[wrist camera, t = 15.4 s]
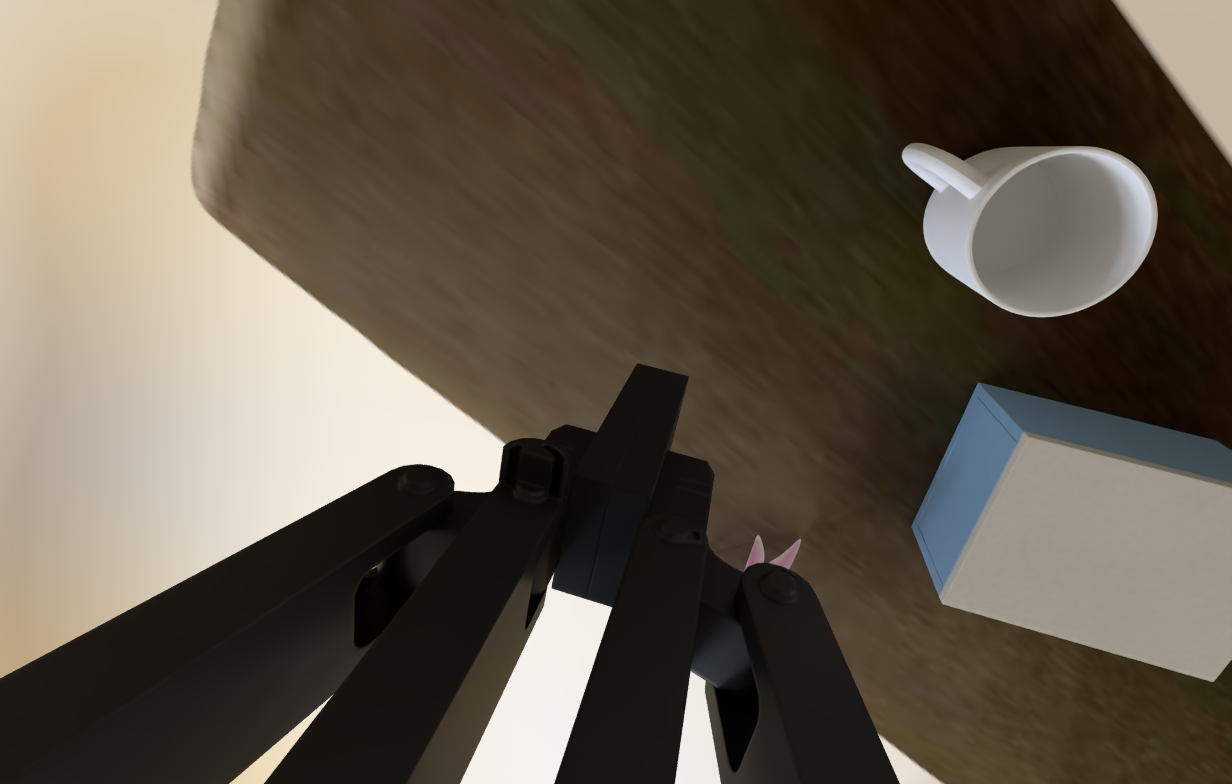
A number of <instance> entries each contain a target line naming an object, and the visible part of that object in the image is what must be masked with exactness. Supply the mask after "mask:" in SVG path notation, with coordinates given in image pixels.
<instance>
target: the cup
mask: <svg viewBox="0 0 1232 784" xmlns="http://www.w3.org/2000/svg"><path fill="white" fill-rule="evenodd" d="M902 159H903V161H904V163H905V164H906V165H907V166H908V167H909V168H910V169H911V170H912V171H913V172H914V173H916V174H917V175H918V176H919V177H921V178H922V179H923V180H924V181H926V182H927V183H928V184H930V185H931V186H932V187H934V188H935V190H934V191H933V193H932V195H931V197H930V199H929V201H928V204H927V207H926V210H925V215H924V223H923V231H924V237H925V241H926V244H927V247H928V249H929V251H930V253H931V255H932V257H933V258H934V260H935V261H936V262H937V263H938V264H939V265H940V266H941V267H942V268H943V269H944V270H945V271H947V272H948V273H949V274H951V275H952V276H954V277H955V278H957V279H958V280H960V281H961V282H963V283H964V284H966V285H967V286H969V287H970V288H972V289H973V290H975V291H976V292H978V293H979V294H981V295H982V296H984V297H985V298H987V299H988V300H990V301H991V302H993V303H994V304H996V305H998V306H999V307H1001V308H1003V309H1005V310H1008V311H1010V312H1013V313H1016V314H1020V315H1025V316H1032V317H1052V316H1060V315H1065V314H1070V313H1073V312H1077V311H1080V310H1082V309H1085V308H1087V307H1090V306H1092V305H1094V304H1096V303H1098V302H1100V301H1101V300H1103V299H1105V298H1106V297H1108V296H1109V295H1111V294H1112V293H1114V292H1115V291H1116V290H1117V289H1119V288H1120V287H1121V286H1122V285H1123V284H1124V283H1126V282H1127V281H1128V279H1129V278H1130V277H1131V276H1132V275H1133V274H1134V273H1135V272H1136V270H1137V269H1138V268H1139V266H1140V265H1141V263H1142V262H1143V260H1144V259H1145V257H1146V255H1147V253H1148V252H1149V249H1150V247H1151V245H1152V242H1153V239H1154V236H1155V231H1156V227H1157V203H1156V198H1155V194H1154V191H1153V189H1152V186H1151V184H1150V183H1149V181H1148V179H1147V177H1146V176H1145V175H1144V174H1143V172H1142V171H1141V170H1140V169H1139V168H1138V167H1137V166H1136V165H1135V164H1134V163H1132V162H1131V161H1130V160H1128V159H1127V158H1125V157H1123V156H1121V155H1119V154H1117V153H1115V152H1112V151H1109V150H1106V149H1102V148H1097V147H1088V146H1055V147H1004V148H997V149H992V150H988V151H984V152H982V153H979V154H976V155H974V156H972V157H970V158H968V159H966V160H965V161H963V160H961V159H959V158H958V157H956V156H954V155H952V154H950V153H948V152H946V151H944V150H941V149H939V148H936V147H933V146H930V145H927V144H922V143H912V144H910V145H908V146H907V147H905V148H904V150H903V152H902Z"/></svg>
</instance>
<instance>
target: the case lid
mask: <svg viewBox="0 0 1232 784" xmlns="http://www.w3.org/2000/svg"><path fill="white" fill-rule="evenodd" d="M939 597H940V600H941V602H942V604H945V605H948V606H952V607H955V608H958V609H962V610H965V611H969V612H972V613H976V614H979V615H983V616H986V617H990V618H993V619H997V620H1000V621H1003V622H1007V623H1010V624H1014V625H1017V626H1021V627H1024V628H1028V629H1031V630H1035V631H1038V632H1042V633H1045V634H1049V635H1052V636H1055V637H1059V638H1062V639H1066V640H1069V641H1073V642H1076V643H1080V644H1083V645H1087V646H1090V647H1094V648H1097V649H1100V650H1104V651H1107V652H1111V653H1114V654H1118V655H1121V656H1125V657H1128V658H1132V659H1135V660H1139V661H1142V662H1146V663H1149V664H1152V665H1156V666H1159V667H1163V668H1166V669H1170V670H1173V671H1177V672H1180V673H1184V674H1187V675H1191V676H1194V677H1197V678H1201V679H1204V680H1208V681H1211V682H1214V681H1215V679H1216V678H1217V677H1218V676H1219V674H1220V673H1221V672H1222V671H1223V669H1224V668H1225V667H1226V666H1227V664H1228V663H1229V662H1230V661H1231V660H1232V483H1228V482H1224V481H1220V480H1216V479H1212V478H1208V477H1204V476H1200V475H1196V474H1192V473H1188V472H1184V471H1180V470H1176V469H1172V468H1168V467H1164V466H1160V465H1156V464H1152V463H1148V462H1144V461H1140V460H1136V459H1132V458H1128V457H1124V456H1120V455H1116V454H1112V453H1108V452H1104V451H1100V450H1096V449H1092V448H1088V447H1084V446H1080V445H1076V444H1072V443H1068V442H1064V441H1060V440H1056V439H1052V438H1048V437H1044V436H1040V435H1036V434H1032V433H1028V432H1023V434H1022V436H1021V438H1020V440H1019V442H1018V444H1017V445H1016V447H1015V449H1014V451H1013V453H1012V455H1011V457H1010V459H1009V461H1008V463H1007V465H1006V467H1005V469H1004V471H1003V473H1002V475H1001V477H1000V479H999V480H998V482H997V484H996V486H995V488H994V490H993V492H992V494H991V496H990V498H989V500H988V502H987V504H986V506H985V508H984V510H983V512H982V514H981V515H980V517H979V519H978V521H977V523H976V525H975V527H974V529H973V531H972V533H971V535H970V537H969V539H968V541H967V543H966V545H965V547H964V549H963V550H962V552H961V554H960V556H959V558H958V560H957V562H956V564H955V566H954V568H953V570H952V572H951V574H950V576H949V578H948V580H947V582H946V584H945V585H944V587H943V589H942V591H941V593H940V595H939Z"/></svg>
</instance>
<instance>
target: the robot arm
mask: <svg viewBox="0 0 1232 784" xmlns="http://www.w3.org/2000/svg"><path fill="white" fill-rule="evenodd" d="M688 378H689V376H685V375H681V374H677V373H673V372H669V371H666V370H662V369H658V368H654V367H650V366H646V365H642V364H638V363H637V365H636V366H635V368H634V370H633V371H632V373H631V375H630V377H629V378H628V380H627V382H626V384H625V385H624V387H623V389H622V390H621V392H620V394H619V396H618V397H617V399H616V401H615V403H614V404H613V406H612V408H611V409H610V411H609V413H608V415H607V416H606V418H605V420H604V422H603V423H602V425H601V427H600V428H599V430H598V432H597V433H596V432H593V431H589V430H585V429H582V428H578V427H575V426H571V425H567V424H566V425H564V426H562V427H559V428H557V429H555V430H553V431H551V433H550V434H549V435H548V437H547V438H546V439H545V440H542V439H536V438H521V439H518V440H514V441H510V442H509V443H508V444H506V445H505V446H504V447H503V454H502V461H501V469H500V477H499V483H498V484H497V486H496V487H495V488H494V490H493V491H492V492H485V493H483V492H464V491H454V481H453V479H452V477H451V475H450V474H448V473H447V472H445V471H444V470H442V469H440V468H436V467H433V466H430V465H422V464H415V465H407V466H402V467H399V468H396V469H393V470H391V471H389V472H387V473H385V474H383V475H381V476H379V477H378V478H376V479H374V480H372V481H370V482H368V483H366V484H364V485H363V486H361V487H359V488H357V489H355V490H353V491H351V492H349V493H348V494H346V495H344V496H342V497H340V498H338V499H336V500H334V501H333V502H331V503H329V504H327V505H325V506H323V507H321V508H319V509H318V510H316V511H314V512H312V513H310V514H308V515H307V516H304V517H303V518H301V519H299V520H297V521H295V522H293V523H291V524H290V525H288V526H286V527H284V528H282V529H280V530H278V531H276V532H274V533H273V534H271V535H269V536H267V537H265V538H263V539H261V540H259V541H257V542H256V543H254V544H252V545H250V546H248V547H246V548H244V549H242V550H241V551H239V552H237V553H235V554H233V555H231V556H229V557H228V558H226V559H224V560H222V561H220V562H218V563H216V564H214V565H212V566H211V567H209V568H207V569H205V570H203V571H201V572H199V573H197V574H196V575H194V576H192V577H190V578H188V579H186V580H184V581H183V582H181V583H179V584H177V585H175V586H173V587H171V588H170V589H168V590H165V591H164V592H162V593H160V594H158V595H157V596H154V597H152V598H150V599H149V600H147V601H145V602H143V603H141V604H139V605H137V606H136V607H134V608H132V609H130V610H128V611H126V612H124V613H122V614H120V615H119V616H117V617H115V618H113V619H111V620H109V621H107V622H105V623H104V624H102V625H100V626H98V627H96V628H94V629H92V630H91V631H89V632H87V633H85V634H83V635H81V636H79V637H77V638H75V639H74V640H72V641H70V642H68V643H66V644H64V645H62V646H60V647H58V648H57V649H55V650H53V651H51V652H49V653H47V654H45V655H44V656H42V657H40V658H38V659H36V660H34V661H32V662H30V663H28V664H27V665H25V666H23V667H21V668H19V669H17V670H15V671H13V672H12V673H10V674H8V675H6V676H4V677H2V678H0V784H229V783H230V782H232V781H233V780H234V779H235V778H236V777H237V776H238V775H240V774H241V773H242V772H243V771H244V770H245V769H247V768H248V767H249V766H250V765H251V764H253V763H254V762H255V761H256V760H257V759H258V758H260V757H261V756H262V755H263V754H264V753H265V752H267V751H268V750H269V749H270V748H271V747H272V746H273V745H275V744H276V743H277V742H278V741H279V740H281V739H282V738H283V737H284V736H285V735H286V734H288V733H289V732H290V731H291V730H292V729H293V728H295V727H296V726H297V725H298V724H299V723H300V722H302V721H303V720H304V719H305V718H306V717H307V716H309V715H310V714H311V713H312V712H313V711H314V710H315V709H317V708H318V707H319V706H320V705H321V704H323V703H324V702H325V701H326V700H327V699H328V698H330V697H331V696H332V695H333V694H334V695H333V696H332V697H331V698H330V700H329V701H328V702H327V703H326V705H325V706H324V707H323V709H322V710H321V711H320V712H319V714H318V715H317V716H316V718H315V719H314V720H313V721H312V723H311V724H310V725H309V727H308V728H307V729H306V730H305V732H304V733H303V734H302V736H301V737H300V738H299V739H298V741H297V742H296V743H295V745H294V746H293V747H292V748H291V750H290V751H289V752H288V753H287V755H286V756H285V757H284V759H283V760H282V761H281V763H280V764H279V765H278V766H277V768H276V769H275V770H274V771H273V773H272V774H271V775H270V777H269V778H268V779H267V780H266V782H265V783H264V784H460V782H461V780H462V778H463V776H464V774H465V772H466V770H467V767H468V765H469V763H470V761H471V759H472V757H473V755H474V752H475V751H476V748H477V746H478V744H479V742H480V740H481V738H482V735H483V733H484V731H485V729H486V727H487V725H488V723H489V721H490V719H491V716H492V714H493V712H494V710H495V708H496V706H497V704H498V702H499V700H500V698H501V695H502V693H503V691H504V689H505V687H506V685H507V683H508V681H509V678H510V676H511V674H512V672H513V670H514V668H515V666H516V664H517V661H518V659H519V657H520V655H521V653H522V651H523V649H524V647H525V644H526V642H527V640H528V638H529V636H530V634H531V632H532V630H533V628H534V625H535V623H536V621H537V619H538V617H539V615H540V613H541V611H542V608H543V606H544V602H545V596H546V591H547V586H548V583H549V582H550V580H551V578H552V576H553V574H554V577H553V582H552V589H555V590H559V591H562V592H565V593H568V594H572V595H575V596H578V597H581V598H584V599H587V600H591V601H594V602H597V603H600V604H604V605H607V606H610V607H612V610H611V613H610V616H609V619H608V622H607V625H606V628H605V631H604V634H603V637H602V640H601V643H600V646H599V649H598V653H597V656H596V659H595V662H594V665H593V668H592V671H591V674H590V677H589V680H588V683H587V686H586V689H585V692H584V695H583V698H582V701H581V704H580V708H579V710H578V714H577V717H576V719H575V722H574V725H573V728H572V731H571V734H570V738H569V741H568V744H567V747H566V750H565V753H564V756H563V759H562V762H561V765H560V768H559V771H558V774H557V777H556V780H555V783H554V784H675V778H676V770H677V764H678V757H679V756H678V755H679V749H680V742H681V735H682V727H683V721H684V714H685V706H686V699H687V692H688V685H689V677H690V671H692V672H693V673H695V674H696V675H698V676H699V677H701V678H703V679H704V680H706V683H705V684H706V685H705V694H706V699H707V704H708V711H709V717H710V722H711V728H712V734H713V739H714V745H715V751H716V757H717V763H718V768H719V774H720V780H721V784H900V783H899V781H898V779H897V776H896V774H895V772H894V770H893V767H892V765H891V763H890V761H889V758H888V756H887V754H886V752H885V749H884V747H883V745H882V743H881V740H880V738H879V736H878V733H877V731H876V729H875V727H874V724H873V722H872V720H871V718H870V715H869V713H868V711H867V709H866V706H865V704H864V702H863V700H862V697H861V695H860V693H859V691H858V688H857V686H856V684H855V681H854V679H853V677H852V675H851V672H850V670H849V668H848V666H847V663H846V661H845V659H844V657H843V654H842V652H841V650H840V648H839V645H838V643H837V641H836V639H835V636H834V634H833V632H832V629H831V627H830V625H829V623H828V620H827V618H826V616H825V614H824V611H823V609H822V607H821V605H820V602H819V600H818V598H817V596H816V593H815V592H814V590H813V589H812V588H811V586H810V585H809V583H808V582H807V581H805V580H804V579H803V578H802V577H801V576H799V575H798V574H797V573H795V572H793V571H791V570H789V569H787V568H785V567H782V566H779V565H775V564H771V563H756V564H753V565H751V566H748V567H747V568H746V569H745V571H744V572H741V571H739V570H737V569H735V568H733V567H732V566H730V565H728V564H727V563H725V562H724V561H722V560H721V559H720V558H719V557H718V556H716V555H715V554H714V552H713V551H712V550H711V548H710V547H709V545H708V539H707V535H706V530H707V523H708V516H709V509H710V502H711V495H712V487H713V482H714V475H715V474H714V472H713V471H712V469H711V467H710V465H709V463H708V461H704V460H700V459H697V458H693V457H689V456H686V455H682V454H678V453H675V452H671V451H670V448H671V444H672V441H673V437H674V433H675V429H676V425H677V421H678V417H679V413H680V409H681V406H682V402H683V398H684V394H685V390H686V386H687V382H688ZM375 566H376V567H375ZM374 567H375V568H374ZM371 569H372V570H371ZM370 570H371V571H370Z"/></svg>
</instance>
